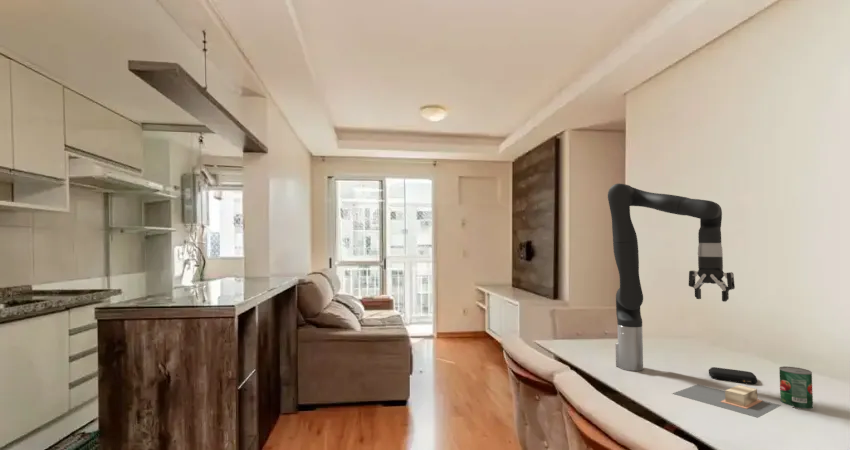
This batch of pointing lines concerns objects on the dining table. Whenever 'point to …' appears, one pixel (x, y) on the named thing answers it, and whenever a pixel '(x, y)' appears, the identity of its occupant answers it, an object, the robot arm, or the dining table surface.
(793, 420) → the dining table surface
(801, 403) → the canned tomato
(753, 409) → the mat
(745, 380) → the carrying case or bag
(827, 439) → the dining table surface
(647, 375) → the dining table surface
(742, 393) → the block
